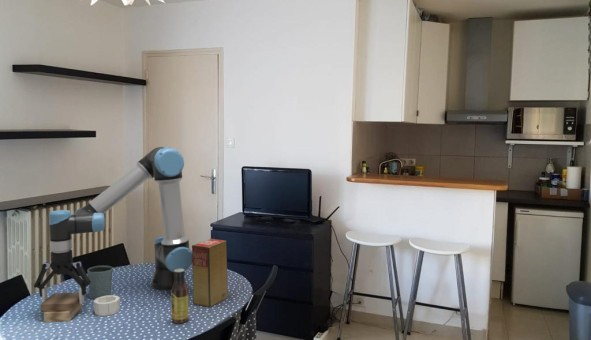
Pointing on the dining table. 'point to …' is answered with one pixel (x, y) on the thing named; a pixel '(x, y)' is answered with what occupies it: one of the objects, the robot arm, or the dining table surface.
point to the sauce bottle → (179, 297)
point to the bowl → (106, 305)
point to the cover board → (61, 302)
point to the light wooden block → (60, 315)
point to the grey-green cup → (100, 281)
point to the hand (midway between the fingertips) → (63, 303)
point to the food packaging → (209, 272)
